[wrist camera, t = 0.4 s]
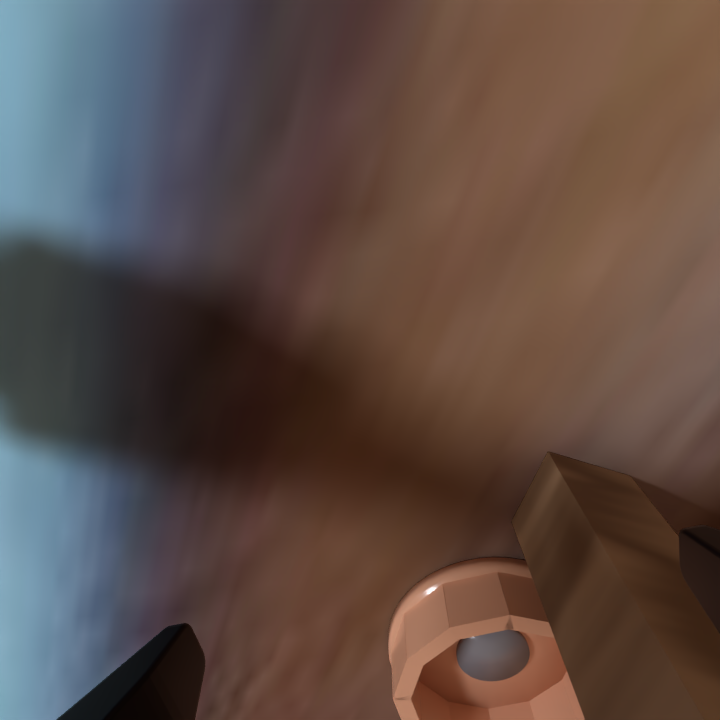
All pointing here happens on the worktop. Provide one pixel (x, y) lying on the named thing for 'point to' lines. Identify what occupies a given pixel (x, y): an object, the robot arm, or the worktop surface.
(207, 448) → the worktop surface
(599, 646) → the tall square post
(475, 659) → the tan shallow dish
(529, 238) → the worktop surface
